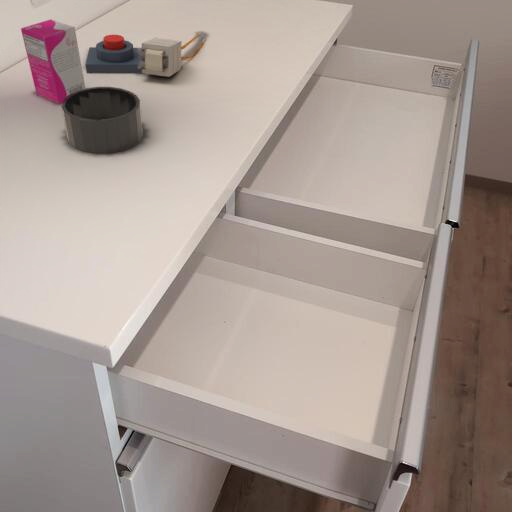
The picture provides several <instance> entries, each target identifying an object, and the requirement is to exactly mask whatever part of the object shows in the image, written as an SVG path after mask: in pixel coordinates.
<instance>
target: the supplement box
mask: <svg viewBox="0 0 512 512" xmlns="http://www.w3.org/2000/svg"><path fill="white" fill-rule="evenodd" d="M20 31H21V35H22V39H23V43H24V49H25V52H26V56H27V60H28V64H29V69H30V72H31V73H30V74H31V77H32V82H33V85H34V90H35V94H36V96H41V97H43V98H44V99H47V100H48V101H51V102H53V103H55V104H58V105H59V104H62V102H63V100H64V99H65V98H66V97H67V96H68V95H70V94H72V93H74V92H76V91H79V90H83V89H86V84H85V77H84V72H83V66H82V61H81V56H80V50H79V45H78V38H77V33H76V27H75V26H72V25H69V24H66V23H63V22H60V21H57V20H54V19H51V18H50V19H47V20H43V21H40V22H38V23H37V22H36V23H34V24H31V25H28V26H24V27H21V28H20Z"/></svg>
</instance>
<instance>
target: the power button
mask: <svg viewBox="0 0 512 512" xmlns="http://www.w3.org/2000/svg"><path fill="white" fill-rule="evenodd" d="M124 40H125V37H124V36H123V35H120V34H108V35H105V36H103V40H102V41H104V48H105V49H108V50H121V49H124V48H125V44H124Z"/></svg>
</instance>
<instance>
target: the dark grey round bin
mask: <svg viewBox="0 0 512 512" xmlns="http://www.w3.org/2000/svg"><path fill="white" fill-rule="evenodd" d="M85 88H86V87H85ZM61 113H62V118H63V122H64V128H65V134H66V139H67V141H68V143H69V145H70V146H72V147H73V148H74V149H76V150H77V151H81V152H83V153H87V154H88V153H89V154H94V155H109V154H116V153H121V152H124V151H126V150H129V149H131V148H133V147H135V146H136V145H137V144H139V143H140V141H141V140H142V139H143V136H144V135H143V133H144V132H143V120H142V108H141V100H140V98H139V97H138V95H137V94H136V93H134V92H132V91H131V90H127V89H125V88H121V87H115V86H95V87H87V88H86V89H83V90H79V91H76V92H74V93H72V94H70V95H68V96H67V97H66V98H65V99H64V100H63V102H62V103H61Z"/></svg>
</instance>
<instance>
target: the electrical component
mask: <svg viewBox="0 0 512 512" xmlns="http://www.w3.org/2000/svg"><path fill="white" fill-rule="evenodd" d="M201 34H202V32H201V31H199V33H197V34H196V35H195V36H194V37H193V38H191V39H190V40H189V41H188V42H186V43H185V44H183V45H182V43H183V42H182V40H175V39H168V38H162V37H152V38H151V39H148V40H146V41H142V42H141V47H136V48H137V52H138V54H139V56H140V57H141V58H142V59H141V61H140V63H139V65H138V67H137V68H138V69H142V73H141V74H145V75H154V76H160V77H167V78H169V77H172V76H173V75H175V74H176V73H178V72H179V71H181V70H182V60H187V59H190V58H192V57H193V56H195V54H197V53H198V52H199V51H200V49H201V48H202V47H203V45H204V44H205V41H206V39H207V38H206V37H205V38H204V39H203V40H202V42H201V43H200V44H199V47H198V48H197V49H196V50H194V52H192V53H191V54H189V55H188V56H182V50H183V49H185V48H187V47H188V46H189V45H190V44H191V43H193V42H194V41H195V40H196V39H197V38H199V36H200V35H201ZM141 48H142V49H141Z"/></svg>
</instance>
